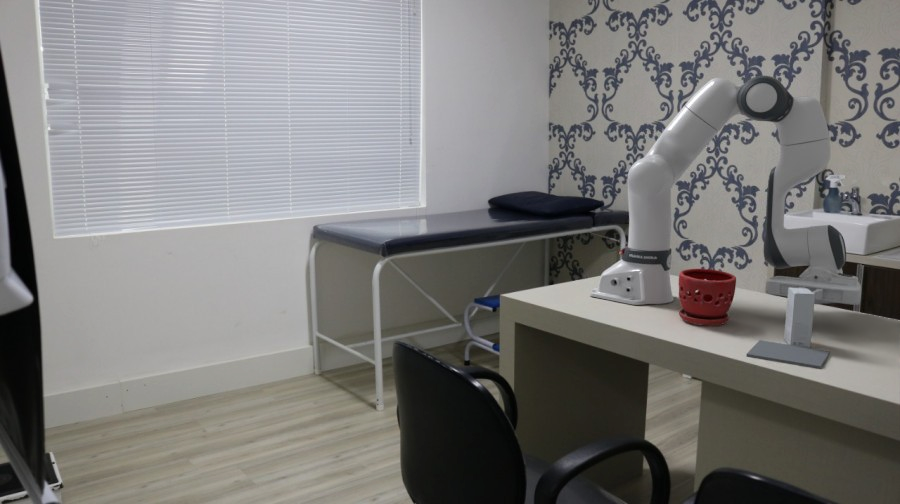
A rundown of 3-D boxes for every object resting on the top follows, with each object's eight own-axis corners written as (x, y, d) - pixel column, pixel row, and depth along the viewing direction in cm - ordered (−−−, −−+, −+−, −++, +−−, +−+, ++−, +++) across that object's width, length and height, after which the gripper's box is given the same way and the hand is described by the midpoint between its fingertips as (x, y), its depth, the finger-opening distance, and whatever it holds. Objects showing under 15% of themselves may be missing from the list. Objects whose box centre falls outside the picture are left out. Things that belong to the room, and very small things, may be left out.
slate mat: (746, 356, 154) (746, 353, 154) (759, 342, 164) (759, 340, 164) (820, 368, 146) (820, 366, 146) (829, 353, 156) (829, 351, 156)
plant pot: (669, 323, 179) (671, 274, 177) (686, 312, 190) (688, 266, 188) (724, 332, 172) (728, 281, 170) (739, 319, 183) (742, 272, 180)
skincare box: (811, 348, 160) (815, 294, 158) (789, 347, 160) (794, 293, 158) (803, 340, 165) (808, 288, 163) (783, 339, 166) (787, 287, 164)
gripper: (772, 267, 185) (759, 277, 174) (865, 277, 173) (858, 288, 162) (770, 292, 186) (757, 303, 175) (863, 303, 175) (855, 316, 163)
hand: (807, 296), depth 168 cm, fingers closed
